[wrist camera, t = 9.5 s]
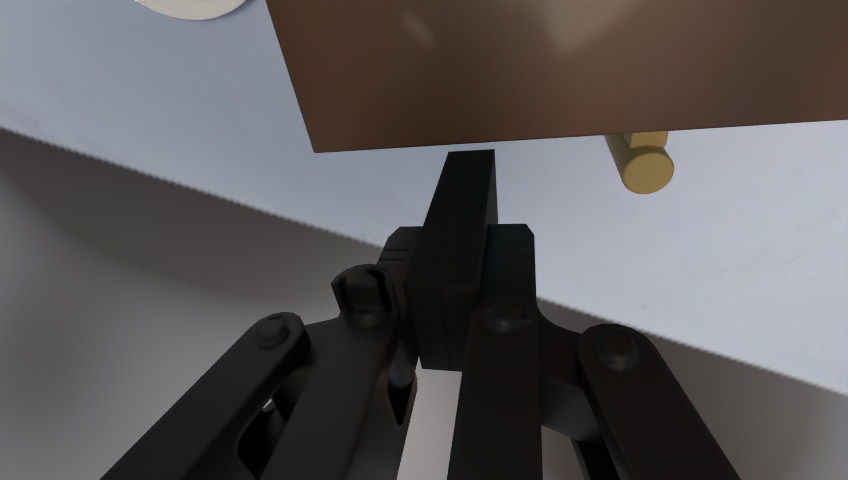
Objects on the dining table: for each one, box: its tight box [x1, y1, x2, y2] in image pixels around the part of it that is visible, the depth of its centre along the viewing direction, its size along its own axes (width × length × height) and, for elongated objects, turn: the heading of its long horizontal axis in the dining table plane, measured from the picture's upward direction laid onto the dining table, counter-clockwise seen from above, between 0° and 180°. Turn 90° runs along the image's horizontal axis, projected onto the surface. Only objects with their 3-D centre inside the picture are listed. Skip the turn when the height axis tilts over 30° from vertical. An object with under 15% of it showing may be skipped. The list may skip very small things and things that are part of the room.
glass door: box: [604, 131, 674, 194], centre depth 14 cm, size 8×5×10 cm, turn 98°
